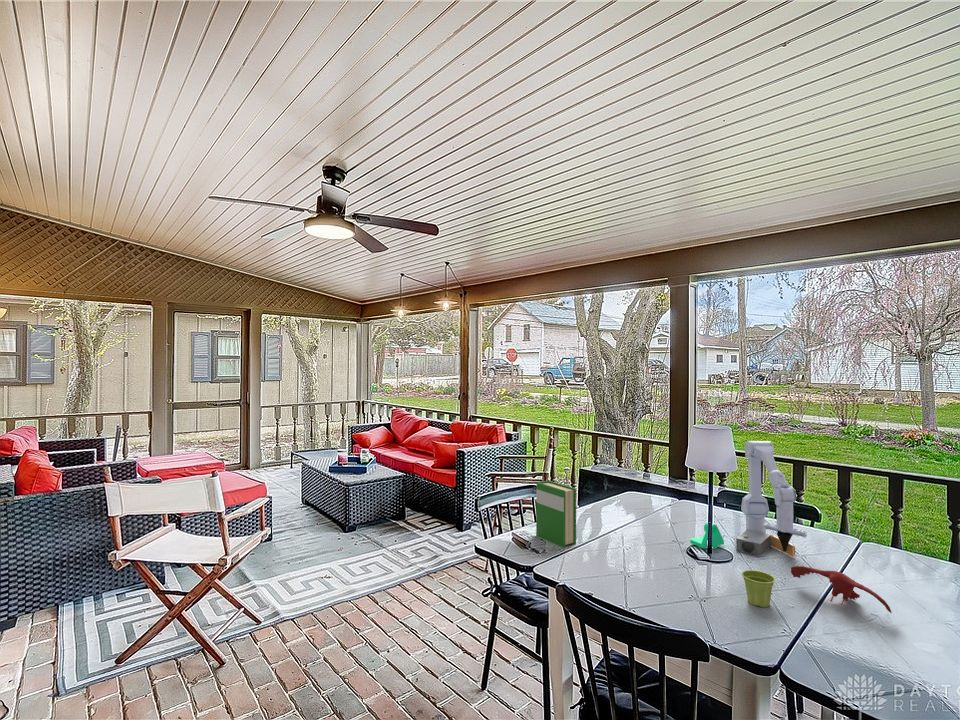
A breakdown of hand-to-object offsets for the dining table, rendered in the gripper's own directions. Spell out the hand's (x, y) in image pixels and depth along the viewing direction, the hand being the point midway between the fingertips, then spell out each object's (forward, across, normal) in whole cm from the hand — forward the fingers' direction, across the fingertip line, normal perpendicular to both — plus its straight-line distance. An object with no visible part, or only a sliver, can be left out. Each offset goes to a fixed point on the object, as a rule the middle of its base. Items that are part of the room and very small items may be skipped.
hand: (785, 550), depth 193 cm
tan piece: (+2, -2, +5) cm, 6 cm away
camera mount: (+3, -27, -10) cm, 29 cm away
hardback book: (+3, -77, -51) cm, 92 cm away
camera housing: (+2, -12, +1) cm, 12 cm away
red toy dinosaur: (+3, +22, -32) cm, 39 cm away
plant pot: (+3, +3, -51) cm, 51 cm away
